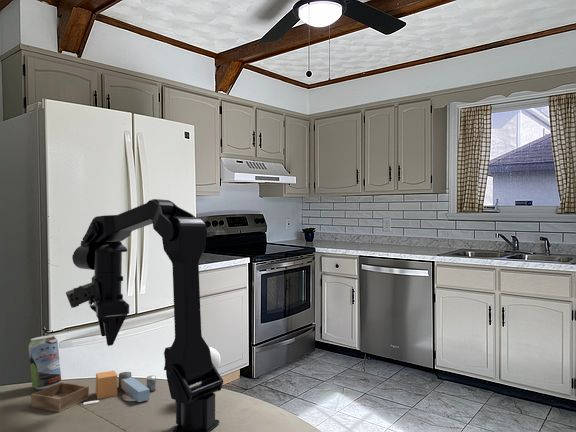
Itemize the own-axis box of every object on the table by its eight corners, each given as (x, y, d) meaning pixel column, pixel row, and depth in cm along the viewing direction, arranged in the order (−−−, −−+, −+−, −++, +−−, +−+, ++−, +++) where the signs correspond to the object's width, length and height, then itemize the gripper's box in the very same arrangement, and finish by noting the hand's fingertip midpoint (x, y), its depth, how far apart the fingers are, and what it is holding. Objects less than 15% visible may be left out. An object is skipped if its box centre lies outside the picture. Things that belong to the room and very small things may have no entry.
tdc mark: (98, 400, 96) (98, 400, 96) (98, 402, 95) (98, 401, 95) (83, 403, 94) (83, 402, 94) (83, 405, 93) (83, 404, 93)
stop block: (117, 395, 99) (117, 375, 99) (97, 399, 97) (98, 378, 97) (114, 390, 102) (114, 370, 102) (95, 393, 100) (95, 373, 100)
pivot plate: (155, 393, 100) (155, 392, 100) (138, 403, 94) (138, 401, 94) (134, 389, 102) (134, 388, 102) (115, 399, 97) (115, 398, 97)
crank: (151, 399, 96) (151, 385, 96) (136, 402, 94) (137, 389, 94) (129, 383, 106) (129, 370, 106) (116, 386, 104) (116, 373, 104)
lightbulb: (219, 390, 102) (219, 342, 102) (221, 400, 96) (222, 349, 96) (192, 393, 100) (192, 344, 100) (193, 403, 94) (193, 351, 95)
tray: (88, 398, 97) (88, 386, 97) (59, 412, 90) (59, 399, 90) (61, 393, 100) (61, 382, 100) (30, 406, 92) (31, 394, 92)
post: (157, 389, 102) (157, 376, 102) (152, 392, 101) (152, 378, 101) (150, 388, 103) (150, 375, 103) (144, 391, 101) (144, 377, 101)
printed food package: (48, 393, 100) (49, 340, 100) (20, 390, 102) (21, 338, 102) (67, 383, 106) (68, 333, 107) (41, 381, 108) (41, 332, 108)
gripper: (65, 269, 104) (64, 335, 104) (72, 277, 88) (70, 356, 88) (115, 267, 110) (114, 330, 109) (130, 275, 94) (128, 348, 93)
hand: (106, 340), depth 100 cm, fingers open, 9 cm apart
